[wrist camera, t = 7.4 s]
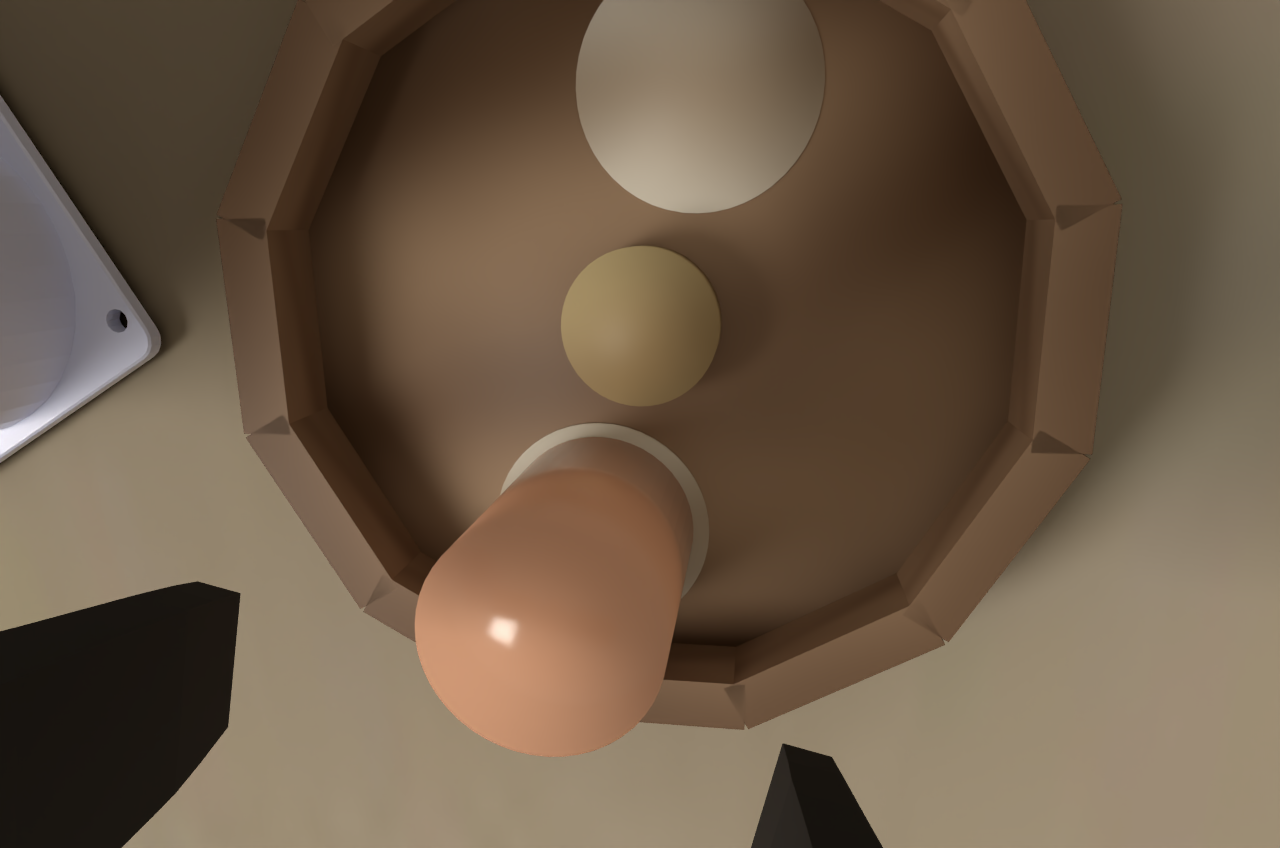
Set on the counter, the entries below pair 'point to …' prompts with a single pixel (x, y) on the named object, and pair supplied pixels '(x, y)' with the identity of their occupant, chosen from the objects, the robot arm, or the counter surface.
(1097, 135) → the counter surface
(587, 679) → the peach rounded cylinder
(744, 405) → the walnut groove tray
